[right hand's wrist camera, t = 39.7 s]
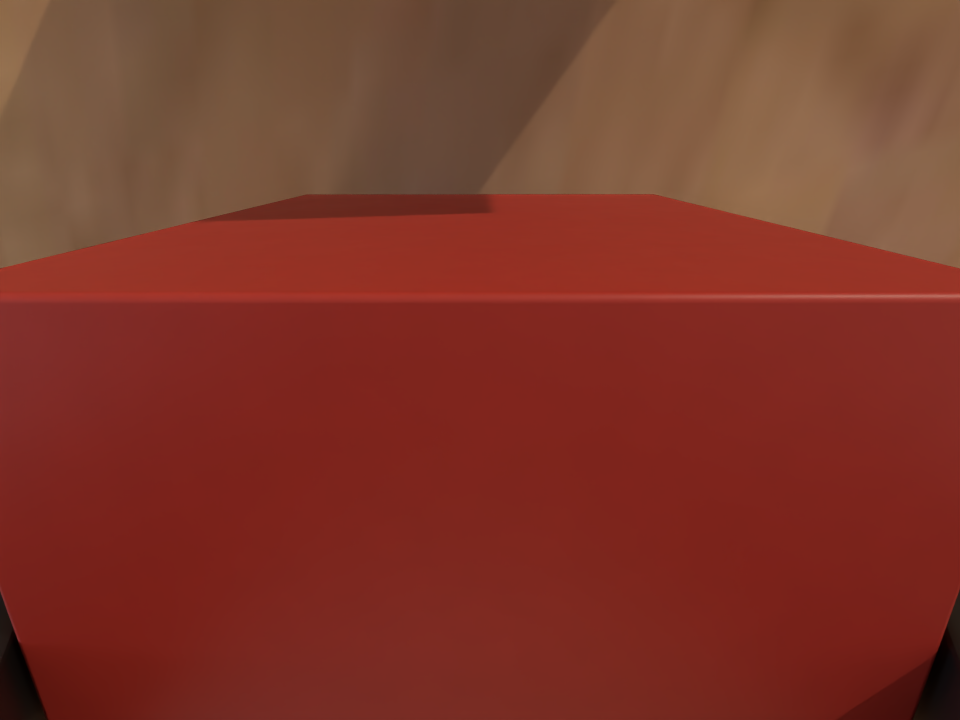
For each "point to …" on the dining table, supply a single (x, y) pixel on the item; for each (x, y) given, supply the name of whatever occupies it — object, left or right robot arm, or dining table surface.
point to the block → (479, 465)
